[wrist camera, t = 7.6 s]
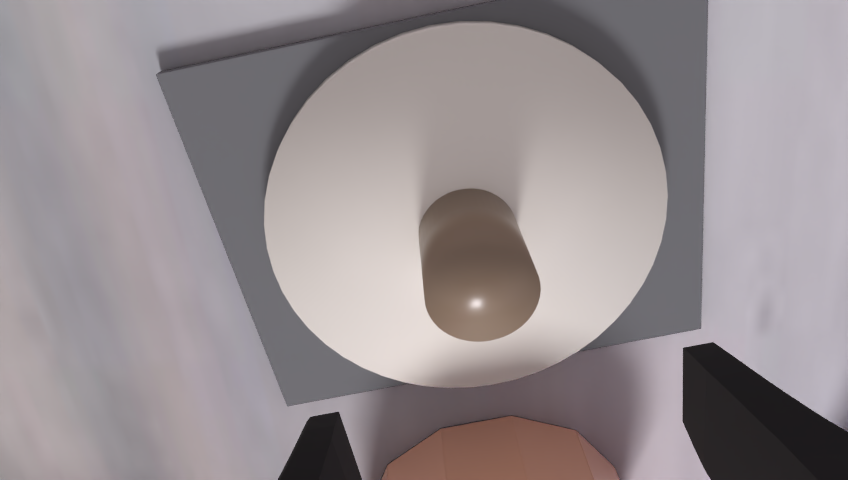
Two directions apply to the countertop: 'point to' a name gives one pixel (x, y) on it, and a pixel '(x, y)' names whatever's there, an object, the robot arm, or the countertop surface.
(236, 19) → the countertop surface
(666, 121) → the mat
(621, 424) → the countertop surface
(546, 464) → the bowl
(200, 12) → the countertop surface
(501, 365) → the lid
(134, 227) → the countertop surface
